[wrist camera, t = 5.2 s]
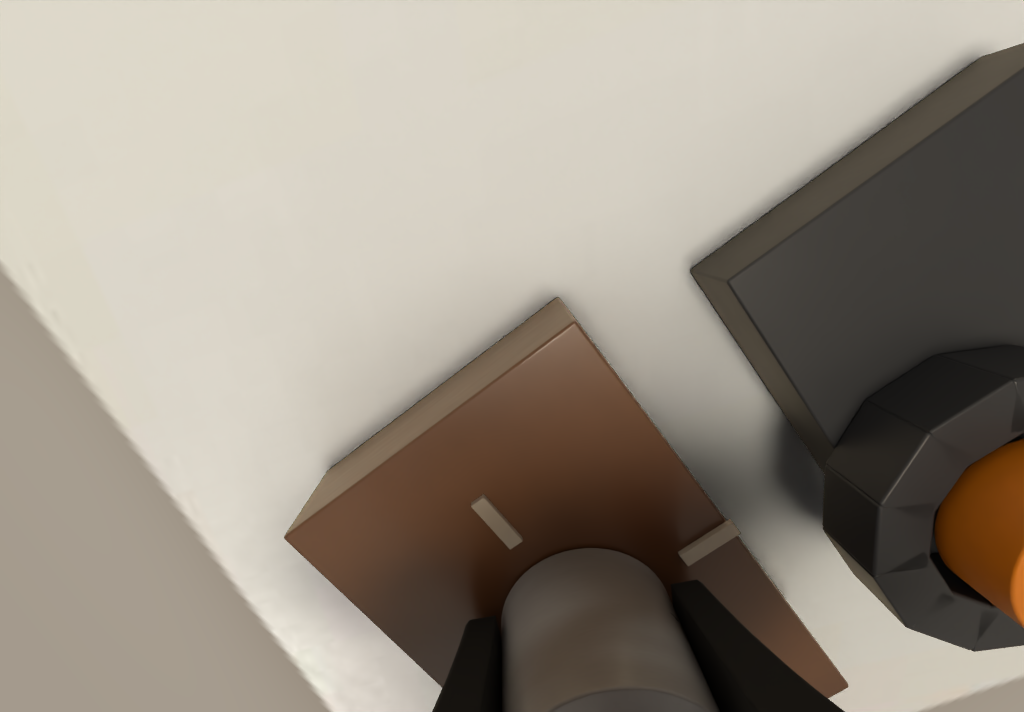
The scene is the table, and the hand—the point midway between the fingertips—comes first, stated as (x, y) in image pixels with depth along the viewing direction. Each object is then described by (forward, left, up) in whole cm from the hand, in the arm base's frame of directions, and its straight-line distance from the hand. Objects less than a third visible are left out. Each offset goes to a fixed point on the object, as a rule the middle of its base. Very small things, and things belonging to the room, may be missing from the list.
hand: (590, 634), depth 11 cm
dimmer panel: (0, 0, -3) cm, 3 cm away
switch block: (-1, -11, -3) cm, 12 cm away
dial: (0, 0, 0) cm, 0 cm away
